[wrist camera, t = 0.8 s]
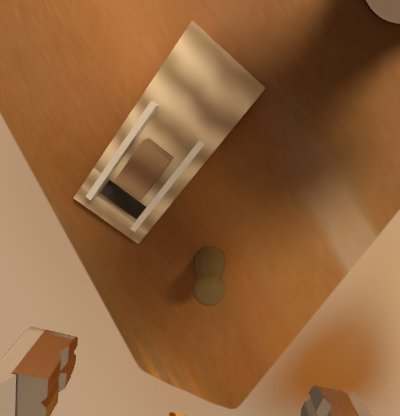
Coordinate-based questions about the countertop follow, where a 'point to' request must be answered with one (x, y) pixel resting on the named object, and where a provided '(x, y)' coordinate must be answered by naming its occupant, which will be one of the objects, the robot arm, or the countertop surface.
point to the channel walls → (122, 152)
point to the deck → (176, 126)
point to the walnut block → (143, 168)
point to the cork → (209, 276)
